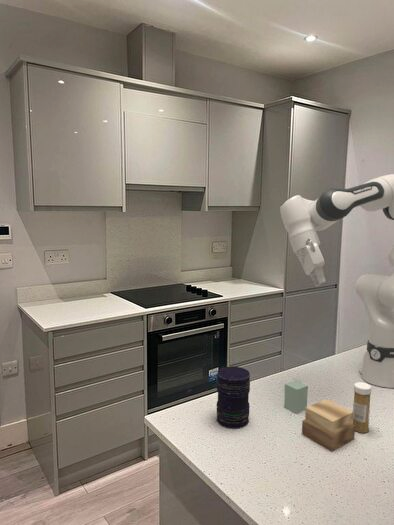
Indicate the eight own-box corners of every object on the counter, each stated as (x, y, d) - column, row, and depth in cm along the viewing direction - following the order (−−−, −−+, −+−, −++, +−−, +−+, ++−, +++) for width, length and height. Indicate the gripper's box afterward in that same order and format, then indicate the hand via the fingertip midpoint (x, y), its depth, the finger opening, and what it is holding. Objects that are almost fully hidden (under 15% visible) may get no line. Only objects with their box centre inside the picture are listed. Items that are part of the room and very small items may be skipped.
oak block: (325, 411, 119) (326, 398, 118) (352, 425, 111) (353, 411, 111) (305, 420, 114) (305, 407, 113) (331, 435, 106) (332, 421, 106)
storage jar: (253, 416, 124) (254, 369, 122) (243, 432, 115) (244, 382, 113) (223, 409, 128) (223, 364, 126) (211, 424, 120) (211, 376, 118)
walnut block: (324, 424, 120) (325, 410, 120) (354, 440, 112) (355, 425, 111) (301, 435, 115) (302, 420, 114) (331, 453, 106) (332, 437, 106)
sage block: (294, 403, 132) (295, 380, 131) (306, 409, 128) (307, 385, 127) (284, 407, 130) (284, 383, 129) (296, 414, 126) (297, 389, 124)
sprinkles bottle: (372, 430, 116) (374, 386, 115) (362, 435, 114) (365, 390, 112) (358, 423, 120) (360, 380, 118) (348, 427, 118) (350, 384, 116)
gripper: (319, 233, 121) (336, 277, 118) (311, 246, 141) (325, 284, 138) (299, 240, 121) (315, 283, 119) (293, 252, 141) (307, 290, 139)
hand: (320, 284), depth 128 cm, fingers open, 8 cm apart
